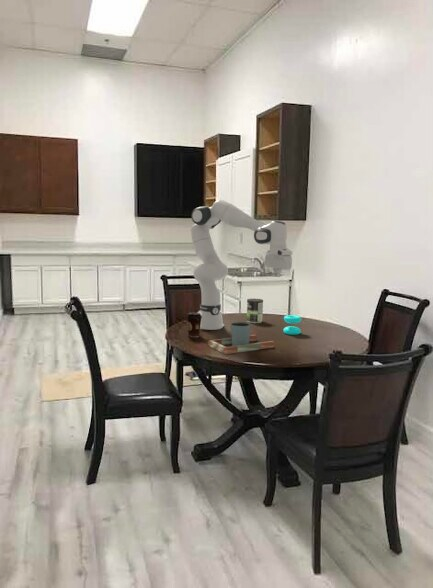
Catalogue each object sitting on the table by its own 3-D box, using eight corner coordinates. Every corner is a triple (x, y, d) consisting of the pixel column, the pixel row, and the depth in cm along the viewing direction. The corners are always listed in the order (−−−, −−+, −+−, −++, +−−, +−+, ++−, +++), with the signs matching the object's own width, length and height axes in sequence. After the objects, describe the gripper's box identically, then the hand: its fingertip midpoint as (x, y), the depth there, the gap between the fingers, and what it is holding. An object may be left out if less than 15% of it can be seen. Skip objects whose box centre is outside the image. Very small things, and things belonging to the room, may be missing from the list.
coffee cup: (187, 338, 267) (187, 315, 265) (184, 334, 275) (184, 312, 273) (203, 337, 269) (203, 314, 267) (199, 334, 277) (199, 311, 275)
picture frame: (208, 346, 251) (208, 340, 251) (255, 339, 265) (255, 334, 265) (225, 354, 237) (225, 348, 236) (273, 347, 251) (274, 341, 250)
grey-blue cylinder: (247, 350, 245) (248, 326, 243) (227, 348, 247) (228, 325, 246) (251, 345, 254) (252, 322, 252) (232, 343, 257) (233, 321, 255)
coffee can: (250, 323, 307) (250, 301, 305) (244, 320, 317) (244, 298, 315) (265, 322, 310) (265, 300, 308) (258, 319, 320) (259, 298, 318)
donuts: (303, 315, 283) (298, 318, 274) (303, 332, 284) (297, 336, 276) (287, 314, 287) (281, 316, 279) (286, 330, 289) (280, 334, 280)
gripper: (262, 250, 272) (261, 274, 274) (284, 252, 254) (283, 278, 256) (271, 249, 275) (270, 274, 277) (294, 252, 257) (293, 278, 259)
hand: (277, 276), depth 266 cm, fingers closed
